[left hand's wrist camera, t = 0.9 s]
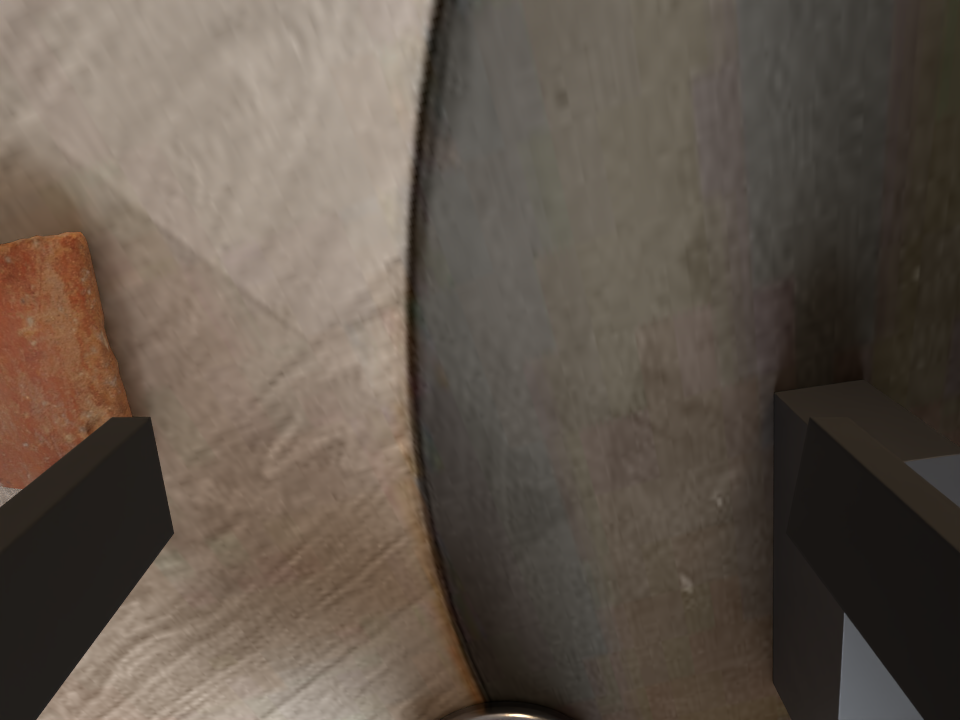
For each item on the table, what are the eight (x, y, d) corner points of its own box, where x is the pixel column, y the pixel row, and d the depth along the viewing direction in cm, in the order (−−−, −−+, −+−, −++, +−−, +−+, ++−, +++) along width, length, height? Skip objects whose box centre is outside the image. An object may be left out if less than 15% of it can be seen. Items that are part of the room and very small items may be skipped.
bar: (846, 674, 46) (923, 793, 38) (772, 682, 47) (833, 802, 39) (864, 379, 38) (968, 452, 30) (773, 392, 38) (852, 468, 30)
